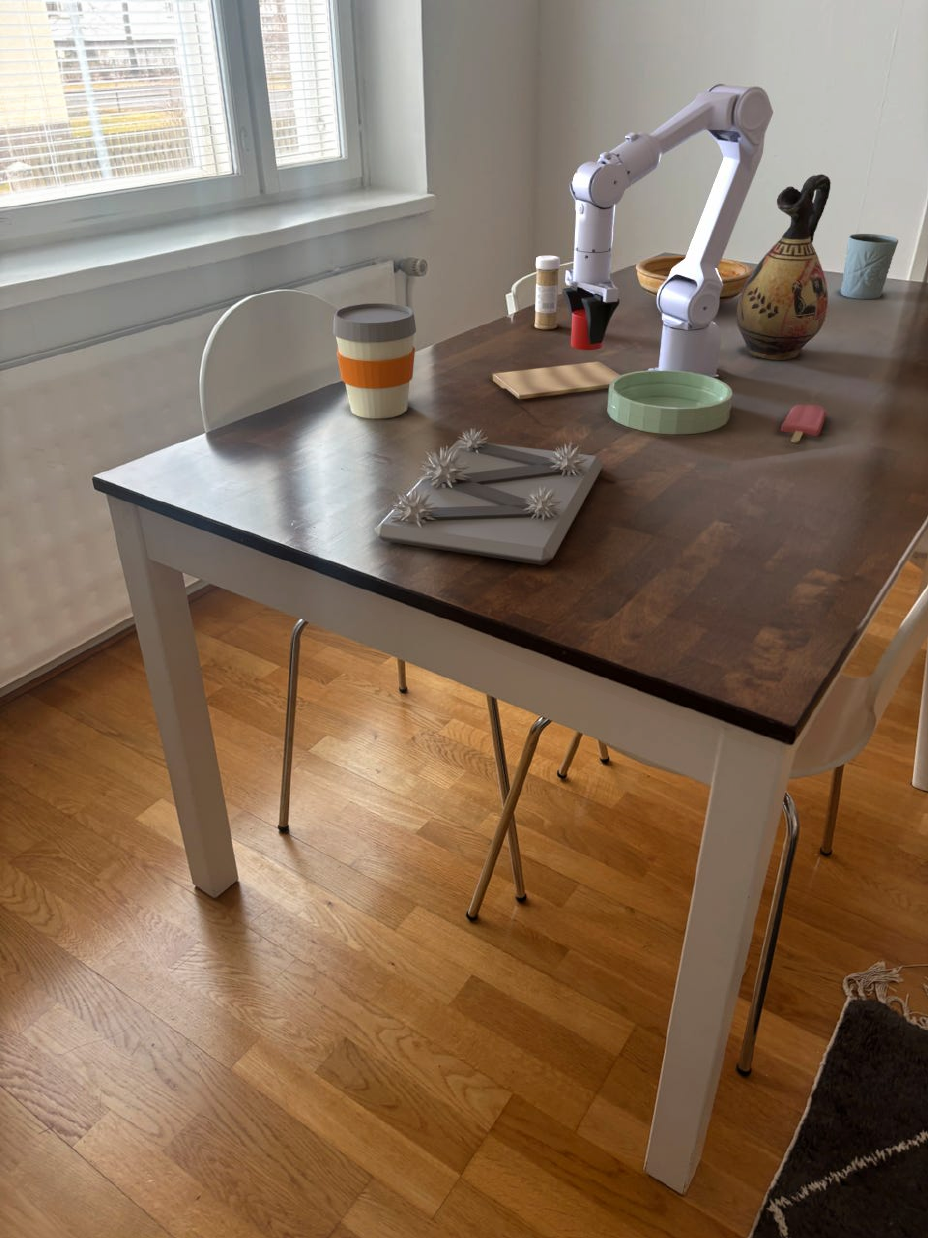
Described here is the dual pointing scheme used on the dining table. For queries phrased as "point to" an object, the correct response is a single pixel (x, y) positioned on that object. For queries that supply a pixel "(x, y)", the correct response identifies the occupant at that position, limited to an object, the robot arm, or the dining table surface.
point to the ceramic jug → (787, 281)
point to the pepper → (581, 332)
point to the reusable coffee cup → (376, 356)
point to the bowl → (669, 402)
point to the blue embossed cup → (867, 265)
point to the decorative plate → (493, 500)
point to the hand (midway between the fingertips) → (587, 338)
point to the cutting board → (556, 379)
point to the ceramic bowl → (729, 271)
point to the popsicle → (804, 421)
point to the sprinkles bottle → (546, 292)
